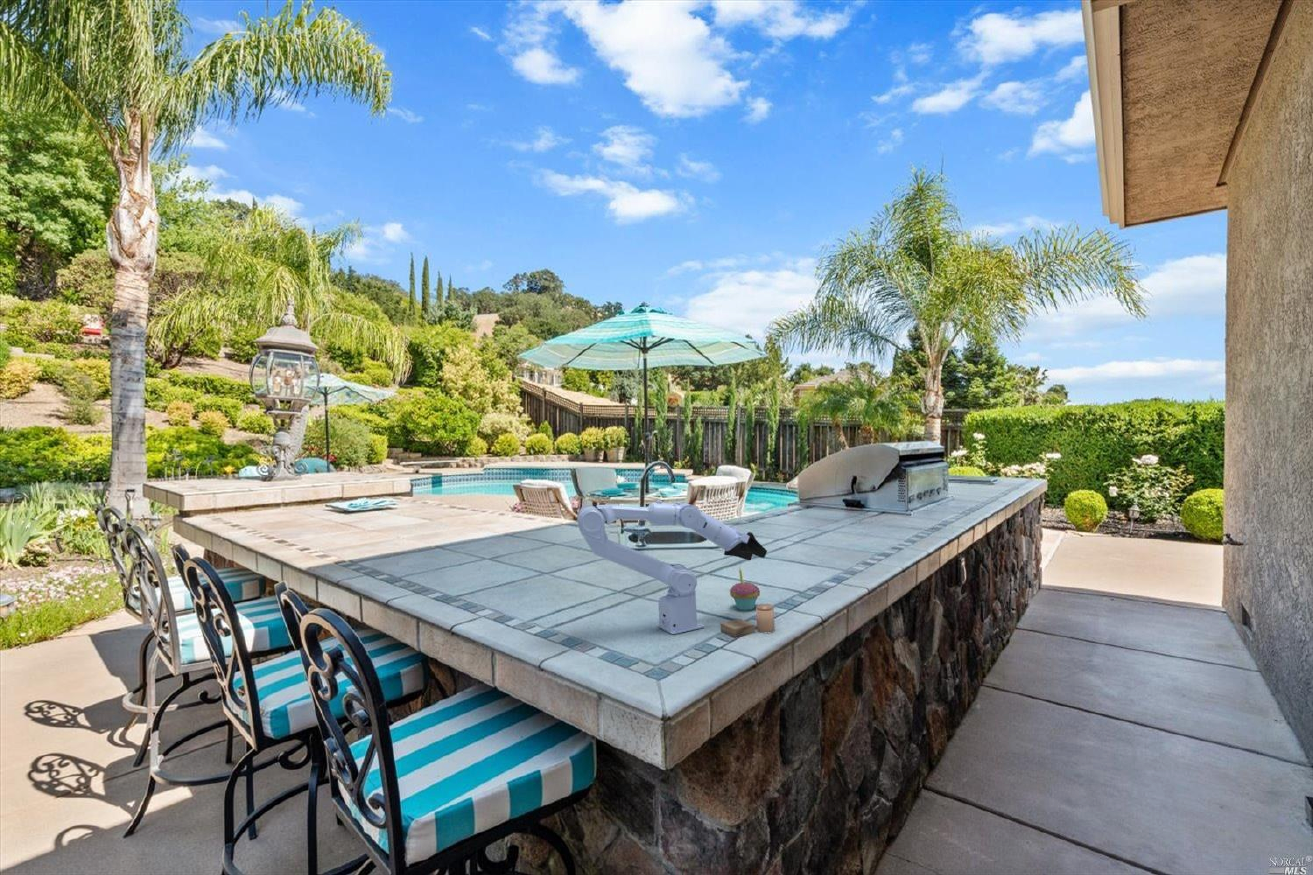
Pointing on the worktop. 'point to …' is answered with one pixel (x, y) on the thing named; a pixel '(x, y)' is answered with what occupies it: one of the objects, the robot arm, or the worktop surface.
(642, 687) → the worktop surface
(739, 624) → the base
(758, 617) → the jar
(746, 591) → the cupcake
